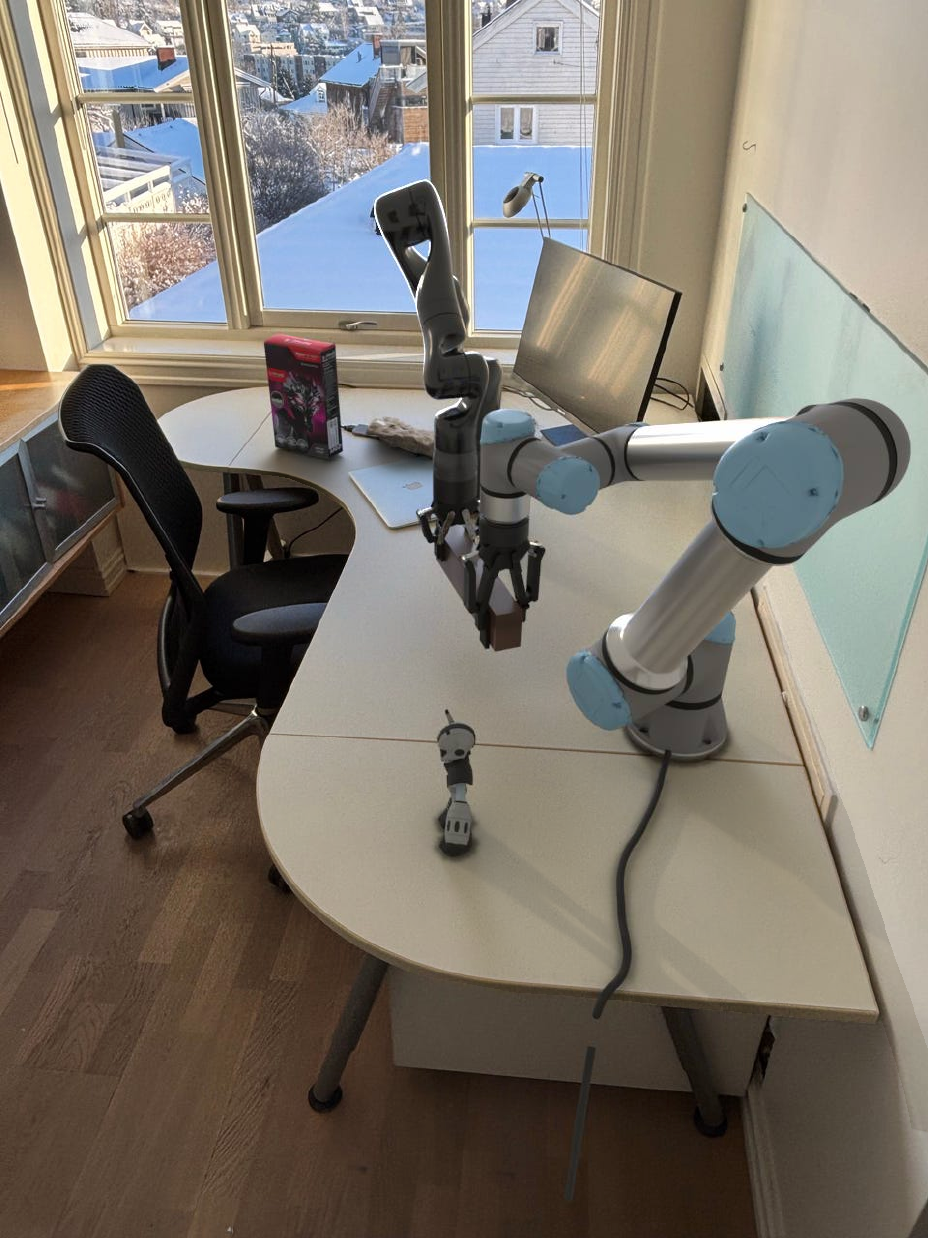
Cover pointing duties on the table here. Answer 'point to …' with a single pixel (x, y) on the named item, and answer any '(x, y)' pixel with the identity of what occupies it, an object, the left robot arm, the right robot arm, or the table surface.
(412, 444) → the stone
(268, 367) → the graphics card box
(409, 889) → the table surface
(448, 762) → the robot
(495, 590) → the beam
